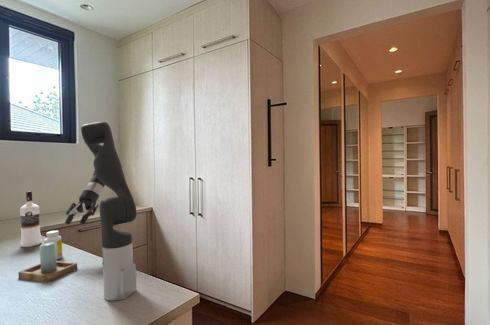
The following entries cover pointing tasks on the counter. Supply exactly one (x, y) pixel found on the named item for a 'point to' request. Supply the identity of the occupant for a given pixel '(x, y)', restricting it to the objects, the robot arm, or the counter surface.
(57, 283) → the counter surface
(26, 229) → the vodka
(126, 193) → the robot arm
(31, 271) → the tray
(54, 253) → the pale green capsule
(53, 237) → the supplement bottle
